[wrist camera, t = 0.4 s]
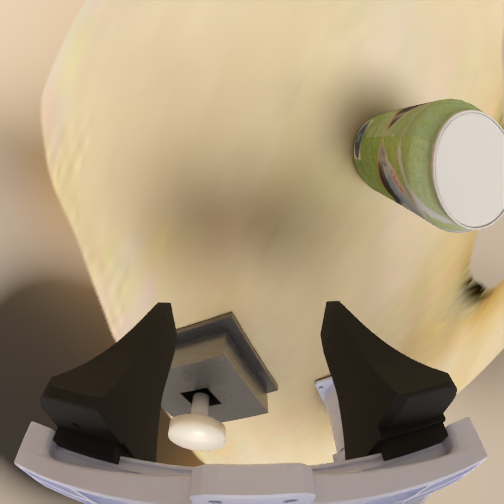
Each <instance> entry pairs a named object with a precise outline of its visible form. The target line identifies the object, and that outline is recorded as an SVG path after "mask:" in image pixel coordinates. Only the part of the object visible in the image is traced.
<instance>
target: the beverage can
mask: <svg viewBox="0 0 504 504" xmlns="http://www.w3.org/2000/svg"><path fill="white" fill-rule="evenodd" d="M353 154H354V161H355V165H356V168H357V170H358V173H359V174H360V176H361V177H362V179H363V180H364V181H365V182H366V184H367V185H368V186H370V187H371V188H372V189H374V190H376V191H377V192H379V193H381V194H383V195H385V196H386V197H388V198H390V199H392V200H393V201H395V202H397V203H399V204H400V205H402V206H404V207H405V208H407V209H409V210H410V211H412V212H414V213H415V214H417V215H419V216H420V217H422V218H423V219H425V220H427V221H428V222H430V223H431V224H433V225H435V226H436V227H438V228H440V229H442V230H445V231H448V232H454V233H463V232H469V231H472V230H479V229H484V228H486V227H489V226H491V225H492V224H494V223H495V222H496V221H497V220H498V219H500V217H501V216H502V215H503V214H504V130H503V129H502V127H501V126H500V125H499V124H498V123H497V122H496V121H495V120H494V119H493V118H492V117H490V116H489V115H487V114H485V113H483V112H482V111H481V110H480V109H478V108H477V107H475V106H473V105H472V104H470V103H467V102H464V101H462V100H455V99H445V100H439V101H434V102H429V103H425V104H420V105H416V106H412V107H407V108H403V109H399V110H395V111H392V112H388V113H384V114H380V115H377V116H375V117H372V118H371V119H369V120H368V121H366V122H365V123H364V124H363V125H362V127H361V128H360V130H359V131H358V133H357V136H356V138H355V142H354V150H353Z"/></svg>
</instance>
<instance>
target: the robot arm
mask: <svg viewBox="0 0 504 504" xmlns="http://www.w3.org/2000/svg"><path fill="white" fill-rule="evenodd" d="M176 340H177V332H176V328H175V323H174V318H173V313H172V307H171V303H157V304H156V305H155V306H154V307H153V308H152V309H151V310H150V311H149V312H148V313H147V315H146V316H145V317H144V318H143V319H142V320H141V321H140V322H139V323H138V324H137V325H136V326H135V327H134V328H133V329H131V330H130V331H129V332H128V333H127V334H126V335H125V336H124V337H123V338H121V339H120V340H119V341H118V342H117V343H115V344H114V345H113V346H111V347H110V348H109V349H108V350H106V351H104V352H103V353H101V354H100V355H98V356H97V357H95V358H93V359H92V360H90V361H88V362H87V363H85V364H83V365H81V366H79V367H77V368H74V369H72V370H70V371H68V372H65V373H62V374H60V375H57V376H54V377H51V379H50V381H49V382H48V384H47V386H46V388H45V390H44V392H43V394H42V396H41V398H40V403H41V406H42V408H43V409H44V411H45V412H46V413H47V414H48V416H49V417H50V418H51V419H52V420H53V422H54V423H55V424H56V425H57V426H58V428H57V430H56V432H55V431H53V430H52V429H50V428H48V427H45V426H43V425H40V424H38V423H35V422H31V424H30V426H29V428H28V430H27V432H26V435H25V437H24V440H23V442H22V444H21V447H20V449H19V451H18V454H17V456H16V459H15V462H14V463H15V465H17V466H18V467H19V468H21V469H22V470H23V471H25V472H26V473H27V474H28V475H30V476H31V477H33V478H34V479H35V480H37V481H38V482H40V483H41V484H43V485H44V486H46V487H48V488H50V489H52V490H55V491H57V492H59V493H62V494H64V495H66V496H68V497H70V498H73V499H75V500H78V501H80V502H83V503H85V504H423V503H424V502H425V500H426V499H427V498H428V497H429V495H430V494H431V493H433V492H436V491H438V490H440V489H442V488H444V487H446V486H448V485H450V484H452V483H454V482H456V481H458V480H459V479H461V478H463V477H464V476H465V475H467V474H468V473H469V472H471V471H472V470H473V469H474V468H476V467H477V466H478V465H480V464H481V463H482V462H483V461H484V460H486V459H487V457H488V456H487V454H486V451H485V449H484V447H483V445H482V442H481V440H480V438H479V436H478V434H477V432H476V430H475V428H474V426H473V424H472V422H471V420H470V418H469V417H466V418H464V419H461V420H459V421H457V422H454V423H452V424H450V425H448V426H447V427H446V428H445V426H444V424H443V422H444V421H445V416H444V414H443V412H444V411H445V410H446V409H447V408H448V406H449V405H450V403H451V402H452V401H453V399H454V398H455V396H456V392H457V388H456V386H455V384H454V383H453V381H452V379H451V377H450V376H449V374H448V373H446V372H443V371H440V370H437V369H434V368H431V367H428V366H426V365H424V364H421V363H419V362H417V361H415V360H413V359H411V358H409V357H407V356H406V355H404V354H402V353H400V352H399V351H397V350H395V349H394V348H392V347H391V346H389V345H388V344H387V343H385V342H384V341H382V340H381V339H380V338H379V337H377V336H376V335H375V334H374V333H372V332H371V331H370V330H369V329H368V328H367V327H365V326H364V325H363V324H362V323H361V322H360V321H359V320H358V319H357V318H356V317H355V316H354V315H353V314H352V313H351V312H350V311H349V310H348V309H347V308H346V307H345V306H344V305H343V304H342V303H340V302H339V301H330V302H326V308H325V313H324V319H323V324H322V330H321V340H322V346H323V351H324V355H325V358H326V361H327V364H328V367H329V370H330V374H331V377H328V378H325V379H322V380H319V381H317V382H316V383H315V386H316V388H317V390H318V392H319V395H320V397H321V399H322V401H323V403H324V405H325V407H326V409H327V411H328V414H329V418H330V422H331V427H332V431H333V436H334V440H335V445H336V450H337V454H334V455H333V459H334V462H333V463H327V464H320V465H312V466H309V465H305V464H301V463H279V464H252V465H236V464H204V465H201V466H197V467H186V466H177V465H169V464H162V463H156V453H157V435H158V425H159V415H160V409H161V402H162V397H163V392H164V388H165V385H166V381H167V378H168V374H169V371H170V367H171V364H172V360H173V357H174V353H175V347H176Z"/></svg>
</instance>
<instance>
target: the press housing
mask: <svg viewBox="0 0 504 504" xmlns="http://www.w3.org/2000/svg"><path fill="white" fill-rule="evenodd" d="M176 332H177V340H176V347H175V353H174V357H173V360H172V364H171V367H170V371H169V374H168V378H167V381H166V385H165V388H164V392H163V397H162V402H161V407H162V408H164V409H165V410H166V411H167V412H168V413H169V414H170V415H171V416H173V417H175V416H178V415H182V414H191V408H192V401H193V395H194V394H195V393H205V394H207V395H208V396H209V397H210V399H209V409H208V417H211V418H214V419H216V420H218V421H220V422H226V421H232V420H237V419H242V418H247V417H251V416H256V415H260V414H265V413H268V402H267V393H269V392H273V391H277V390H278V386H277V384H276V383H275V381H274V380H273V378H272V376H271V375H270V373H269V372H268V370H267V369H266V367H265V365H264V364H263V362H262V361H261V359H260V358H259V356H258V354H257V353H256V351H255V350H254V348H253V346H252V345H251V343H250V341H249V340H248V338H247V337H246V335H245V333H244V332H243V330H242V328H241V327H240V325H239V323H238V322H237V320H236V318H235V317H234V315H233V313H232V312H230V313H227V314H224V315H221V316H218V317H215V318H212V319H209V320H206V321H203V322H200V323H196V324H193V325H190V326H187V327H184V328H181V329H177V330H176Z"/></svg>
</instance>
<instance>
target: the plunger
mask: <svg viewBox="0 0 504 504" xmlns="http://www.w3.org/2000/svg"><path fill="white" fill-rule="evenodd" d="M209 399H210V397H209V396H208V395H207V394H205V393H195V394H194V395H193V401H192V408H191V414H182V415H178V416H175V417H174V418H172V419H171V422H170V427H169V433H168V437H169V438H170V440H171V441H172V442H174V443H175V444H177V445H179V446H181V447H184V448H187V449H191V450H197V451H212V450H217V449H220V448H222V447H223V446H224V445H225V437H226V428H225V426H224V425H223V424H222V423H221V422H220V421H218V420H216V419H214V418H211V417H208V409H209Z"/></svg>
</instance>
